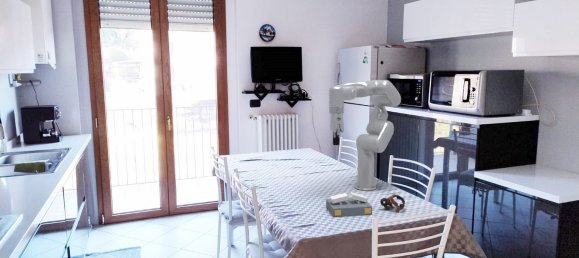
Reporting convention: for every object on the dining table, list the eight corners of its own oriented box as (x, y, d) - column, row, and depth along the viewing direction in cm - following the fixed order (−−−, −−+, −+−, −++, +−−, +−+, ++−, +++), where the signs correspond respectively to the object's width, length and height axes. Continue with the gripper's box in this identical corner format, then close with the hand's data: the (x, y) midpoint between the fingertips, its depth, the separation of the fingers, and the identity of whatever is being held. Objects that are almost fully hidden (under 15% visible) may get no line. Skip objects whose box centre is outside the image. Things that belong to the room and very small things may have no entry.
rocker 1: (346, 196, 193) (345, 192, 192) (348, 199, 188) (347, 195, 188) (330, 200, 192) (329, 196, 192) (332, 203, 188) (332, 199, 187)
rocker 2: (363, 199, 194) (364, 195, 194) (366, 202, 190) (367, 198, 190) (348, 195, 193) (350, 191, 193) (351, 198, 189) (352, 194, 188)
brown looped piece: (395, 205, 200) (403, 194, 196) (401, 219, 192) (409, 207, 188) (374, 201, 197) (381, 189, 193) (380, 215, 189) (387, 203, 185)
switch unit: (362, 204, 200) (362, 195, 199) (372, 214, 186) (372, 204, 185) (326, 206, 197) (326, 197, 196) (333, 217, 183) (333, 206, 182)
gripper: (347, 111, 197) (347, 147, 200) (339, 108, 212) (339, 142, 215) (333, 111, 196) (332, 147, 199) (325, 109, 211) (325, 142, 214)
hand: (336, 144), depth 207 cm, fingers closed
